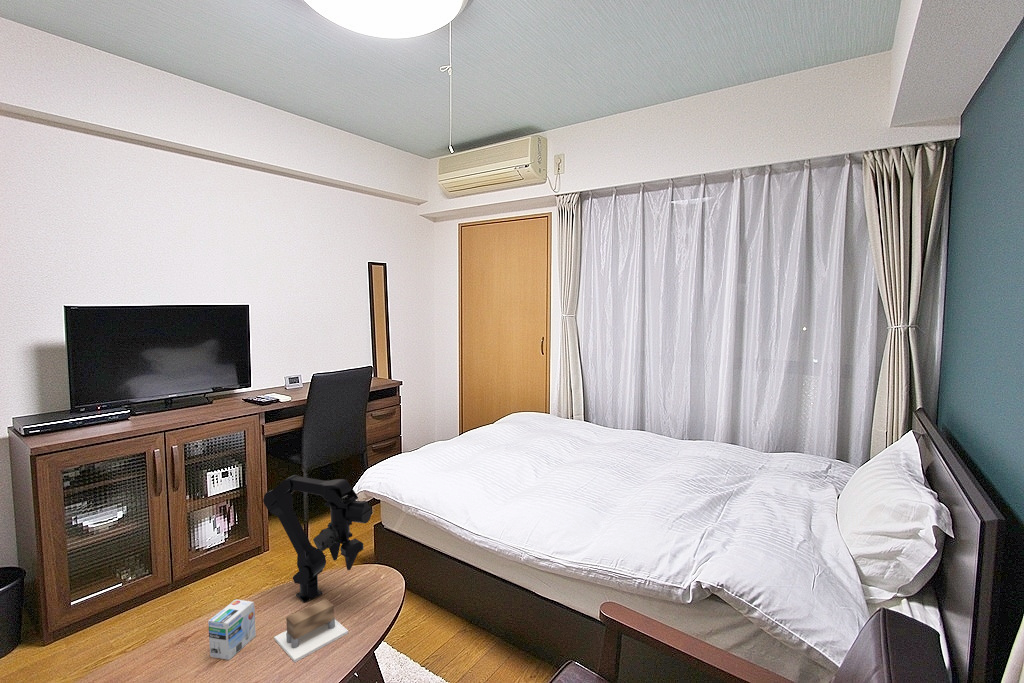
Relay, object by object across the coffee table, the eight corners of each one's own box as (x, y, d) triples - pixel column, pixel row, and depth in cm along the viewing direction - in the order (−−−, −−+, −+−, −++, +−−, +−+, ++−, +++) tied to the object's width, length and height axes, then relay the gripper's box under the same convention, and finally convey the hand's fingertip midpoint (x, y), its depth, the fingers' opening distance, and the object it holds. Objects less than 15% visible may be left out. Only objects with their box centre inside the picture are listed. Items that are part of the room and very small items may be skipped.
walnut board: (326, 612, 150) (325, 598, 149) (334, 619, 146) (333, 605, 146) (287, 632, 141) (286, 617, 140) (294, 639, 137) (293, 624, 137)
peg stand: (274, 639, 143) (273, 628, 142) (326, 613, 154) (325, 603, 154) (294, 662, 133) (294, 651, 133) (348, 633, 145) (347, 622, 145)
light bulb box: (229, 661, 134) (227, 623, 133) (208, 657, 136) (206, 621, 135) (257, 635, 145) (255, 600, 144) (237, 632, 146) (235, 598, 145)
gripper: (303, 519, 159) (305, 564, 160) (330, 536, 147) (332, 586, 148) (335, 508, 167) (336, 552, 169) (363, 524, 155) (365, 571, 156)
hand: (342, 565), depth 160 cm, fingers open, 9 cm apart
